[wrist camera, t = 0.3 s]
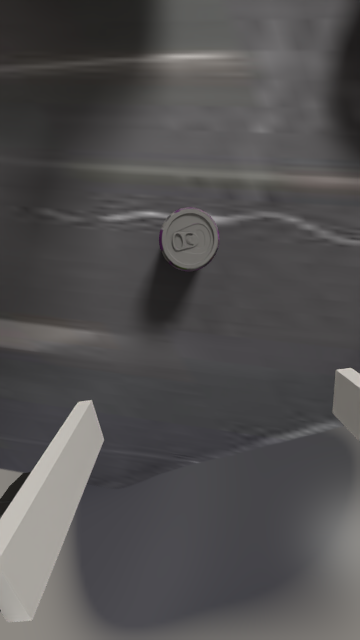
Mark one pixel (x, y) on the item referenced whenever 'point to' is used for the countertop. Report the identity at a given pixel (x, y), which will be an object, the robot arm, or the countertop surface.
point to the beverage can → (189, 239)
